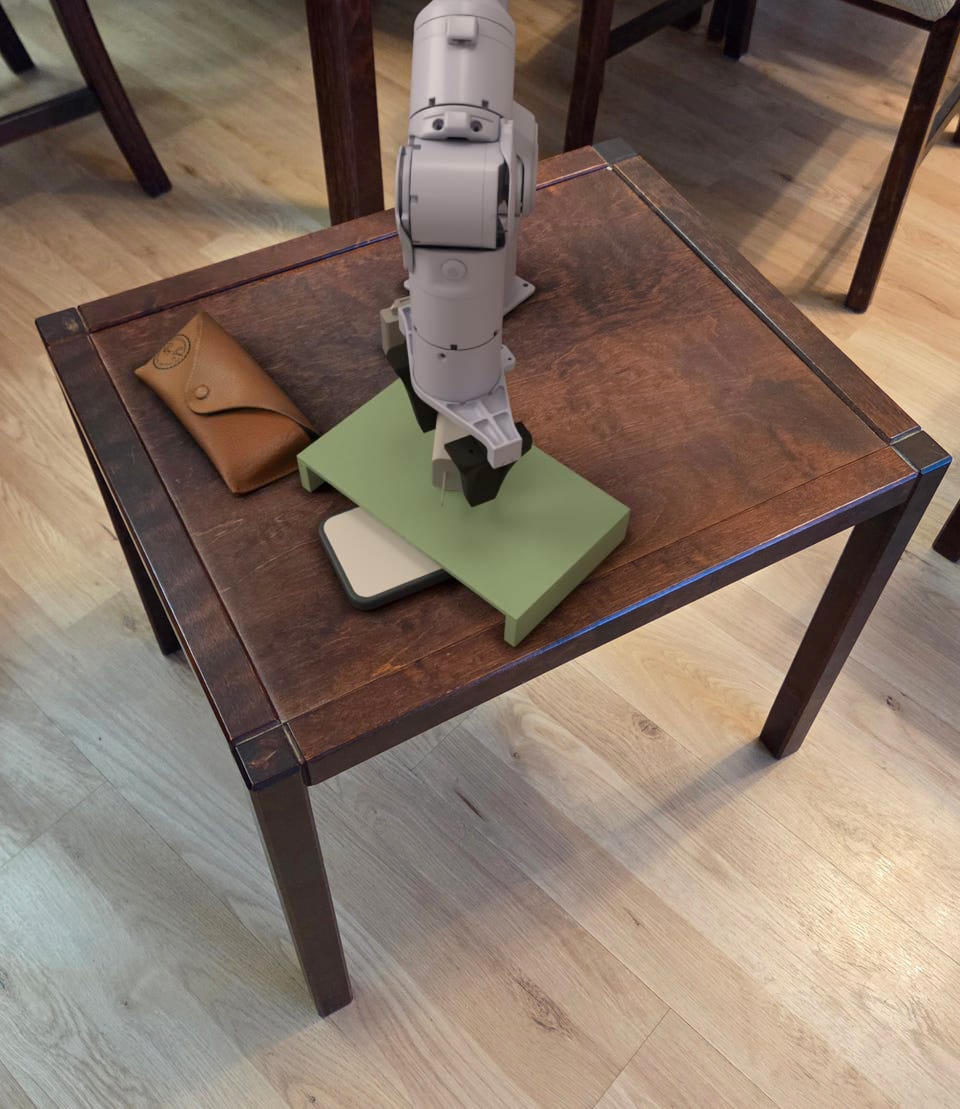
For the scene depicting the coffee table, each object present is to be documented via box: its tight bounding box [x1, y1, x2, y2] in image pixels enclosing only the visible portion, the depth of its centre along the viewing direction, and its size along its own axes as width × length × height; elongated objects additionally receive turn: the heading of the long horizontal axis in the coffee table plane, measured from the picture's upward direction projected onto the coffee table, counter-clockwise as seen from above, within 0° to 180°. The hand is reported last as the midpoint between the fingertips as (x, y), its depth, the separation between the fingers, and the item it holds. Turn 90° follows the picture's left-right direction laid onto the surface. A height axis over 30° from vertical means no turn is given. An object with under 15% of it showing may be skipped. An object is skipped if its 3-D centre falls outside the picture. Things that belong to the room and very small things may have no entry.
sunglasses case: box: [134, 308, 323, 495], centre depth 86 cm, size 18×7×7 cm
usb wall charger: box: [431, 412, 471, 509], centre depth 77 cm, size 4×7×4 cm, turn 176°
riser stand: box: [297, 377, 632, 648], centre depth 80 cm, size 22×13×4 cm, turn 48°
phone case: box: [317, 504, 455, 612], centre depth 80 cm, size 9×2×16 cm
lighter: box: [379, 295, 410, 355], centre depth 89 cm, size 7×2×8 cm, turn 114°
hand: (457, 461), depth 77 cm, fingers open, 7 cm apart
